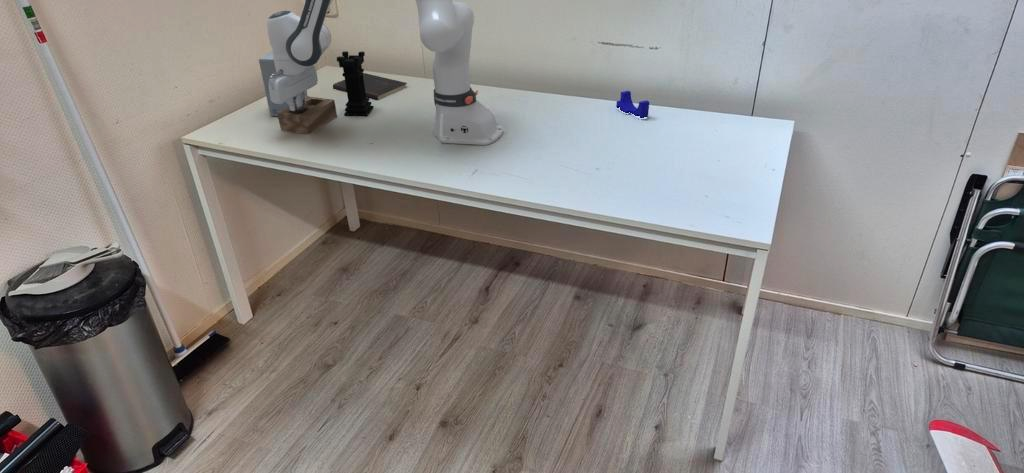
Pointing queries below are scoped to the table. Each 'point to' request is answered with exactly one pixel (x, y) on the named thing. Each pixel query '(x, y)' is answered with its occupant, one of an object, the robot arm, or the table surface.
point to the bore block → (308, 116)
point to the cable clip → (632, 105)
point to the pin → (298, 104)
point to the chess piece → (355, 85)
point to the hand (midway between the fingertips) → (298, 107)
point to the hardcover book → (375, 86)
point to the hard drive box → (267, 70)
